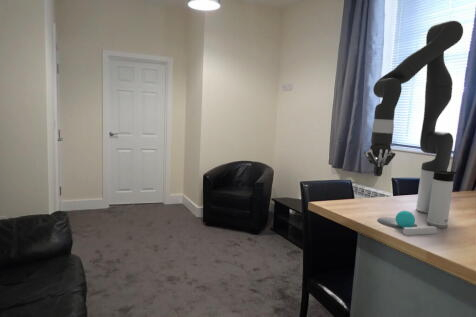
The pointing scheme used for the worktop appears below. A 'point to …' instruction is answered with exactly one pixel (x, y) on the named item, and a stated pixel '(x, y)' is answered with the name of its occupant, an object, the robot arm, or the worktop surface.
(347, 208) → the worktop surface
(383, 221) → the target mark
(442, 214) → the travel mug
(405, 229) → the wall
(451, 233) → the worktop surface
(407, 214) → the ball
